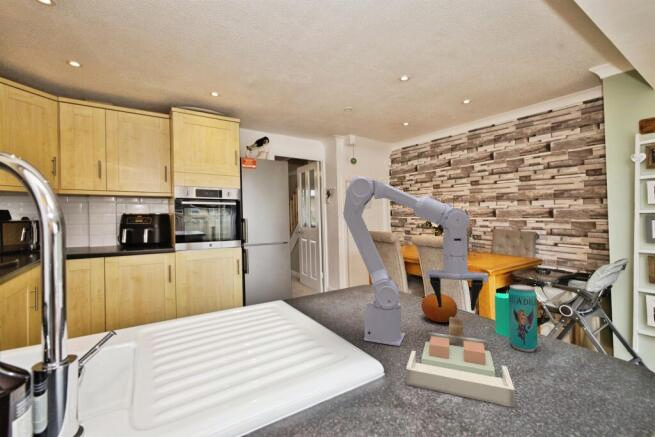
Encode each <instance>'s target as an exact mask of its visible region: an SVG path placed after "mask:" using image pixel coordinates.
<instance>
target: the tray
mask: <svg viewBox="0 0 655 437" xmlns="http://www.w3.org/2000/svg"><path fill="white" fill-rule="evenodd" d="M416 351H417V350H411V353H410V356H409V359H408V361H407V364H406V368H405V384H406V386H407V385H408V386H412V387H415V388H416V387H417V388H421V389H427V390H430V391H435V392H439V393H440V392H441V393H445V394H449V395H455V396H458V397H463V398H467V399H468V398H469V399H473V400H477V401H482V402H486V403H492V404H496V405H500V406H505V407H508V408H509V407H510V408H513V409H515V408H516V392H515V391H516V390H515V387H514V384H513V382H512V378H511V376H510V375H511V374H510V373H509V370H508V366H507V365H501V377H497V376H495V377H493V376H487V375H482V374H476V373H471V372H465V371H460V370H454V369H449V368H443V367H438V366H432V365H427V364H422V362H421V363H420V362H417V354H416V353H417V352H416Z"/></svg>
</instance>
